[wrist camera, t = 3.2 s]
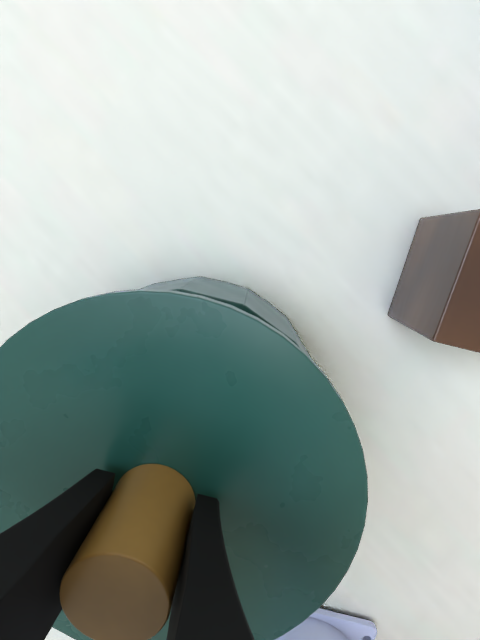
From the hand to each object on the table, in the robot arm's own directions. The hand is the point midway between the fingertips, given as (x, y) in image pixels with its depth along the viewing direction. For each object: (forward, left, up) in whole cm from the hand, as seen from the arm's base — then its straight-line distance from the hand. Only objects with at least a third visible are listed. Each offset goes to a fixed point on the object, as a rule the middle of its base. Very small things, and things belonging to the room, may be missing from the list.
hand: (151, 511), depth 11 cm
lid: (0, 0, -1) cm, 1 cm away
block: (+9, -11, -9) cm, 17 cm away
